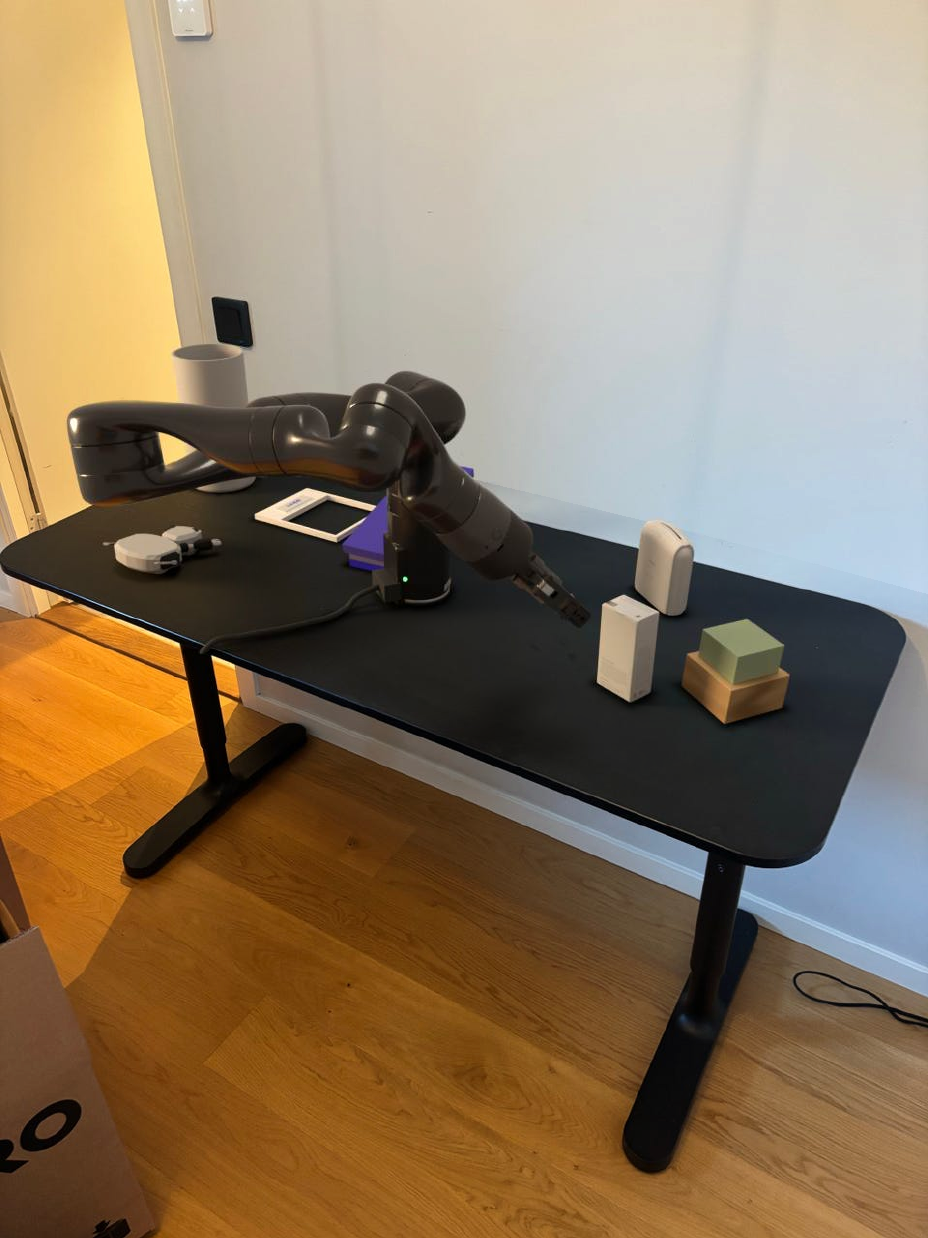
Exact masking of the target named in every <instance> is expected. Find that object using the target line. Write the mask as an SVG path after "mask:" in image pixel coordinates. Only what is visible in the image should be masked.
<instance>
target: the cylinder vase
mask: <svg viewBox="0 0 928 1238" xmlns="http://www.w3.org/2000/svg"><path fill="white" fill-rule="evenodd" d="M171 358H172V365H173V371H174V379H175V387H176V392H177V393H176V394H177V400H178V403H187V404H198V405H207V406H217V407H232V408H243V407H244V406H245V405H247V404H248V403H249V395H248V386H247V375H246V365H245V364H246V363H245V355H244V349H243V348H242V347H240V346H237V345H234V344H226V343H197V344H191V345H186V346H183V347H178V348H176V349H174V350H173V351H172V352H171ZM183 443H184V450H185V456H186V455H188V454H190V453H192V452H193V451H195V450H196V449H195V448H194V447H192V446H190V445H189V444H187V443H185V442H183ZM256 479H257V477H249V478H242V479H236V480H230V481H225V482H220V483H216V484H211V485H207V486H203V487H199V488H195V489H196V490H199V491H201V492H206V493H214V494H217V493H218V494H221V493H231V492H232V493H233V492H236V491H240V490H243V489H247V488H248V487H249V486H251V485H252V484H253V483H254V482H255V480H256Z"/></svg>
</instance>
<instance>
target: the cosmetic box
mask: <svg viewBox="0 0 928 1238" xmlns="http://www.w3.org/2000/svg"><path fill="white" fill-rule="evenodd" d="M659 619H660V611H659V610H656V609H654V608H652V607H650V606H648V605H646V604H644V603H642V602H640V601H638V600H636V599H634V598H632V597H629V596H628V595H626V594H622V595H620V596H618V597H615V598H613V599H611V600H609V601H606V602H604V603H603V604H602V607H601V621H600V635H599V647H598V648H599V649H598V651H599V652H598V665H597V677H596V683H597V684H599V685H600V686H602V687H603V688H605V689H607V690H608V691H610V692H611V693H613V694H615V695H617V696H618V697H620V698H622V699H624V700H625V701H627V702H628V703H633V702H635V701H638V700H640V699H641V698H643V697H645V696H647V695H648V694H650V693H651V691H652V682H653V674H654V664H655V656H656V655H655V654H656V646H657V637H658V628H659Z"/></svg>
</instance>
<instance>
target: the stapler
mask: <svg viewBox="0 0 928 1238" xmlns="http://www.w3.org/2000/svg"><path fill="white" fill-rule="evenodd" d="M459 466H460V467H461V468H462V469H463V470H465V471H466V472H467V473H468V474H469V475H470V476H471V477H472V478H473V479H474V478H475V470H474V468H472V467H467V466H462V465H459ZM375 506H376V507H375V508H374V509H373V511H370V512H369V514H368V515H367V516H366V517H364V518H365V520H364V521H363V522H362V523H361V524H360V525H359V526H358V527H357V529H356V530H355V531H354V532H353V533H352V534H350V535H348V537H347V539H346V540H345V541H344V542H343V543H342V549H343V553H345V554H348V558H349V559H348V560H349V567H353V568H358V569H362V570H366V571H371V572H372V570H377V569H383V568H384V551H383V533H385V532H388V531H387V494H386V495H385V496H384V497H383V498H382V499H381V500H380V502H379V503H378V504H376V505H375Z"/></svg>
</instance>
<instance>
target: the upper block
mask: <svg viewBox="0 0 928 1238" xmlns="http://www.w3.org/2000/svg"><path fill="white" fill-rule="evenodd" d="M784 649H785V644H783V643H781V642H780V641H779V640H778V639H777V638H775V637H774V636H772V635H771V634H769V633H768V632H766V631H765V630H763V628H761V627H759V626H758V625H757V624H755V623H754V622H753V621H751V620H750V619H748V618H745V619H741V620H737V621H732V622H727V623H724V624H719V625H715V626H711V627H707V628H703V629H702V631H701V637H700V643H699V649H698V651H699V654H698V656H699V657H700V658H701V659H703V660H704V661H705V662H706V663H707V664H709V665H710V666H711V667H712V668H713V669H715V670H716V671H717V672H718V673H720V674H721V675H722V676H723V677H724V678H726V679H727V680H728V681H729V682H730V683H732V684H736V683H740V682H744V681H748V680H751V679H755V678H759V677H763V676H767V675H770V674H774V673H778V671H779V668H780V667H781V662H782V657H783V653H784Z"/></svg>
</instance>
